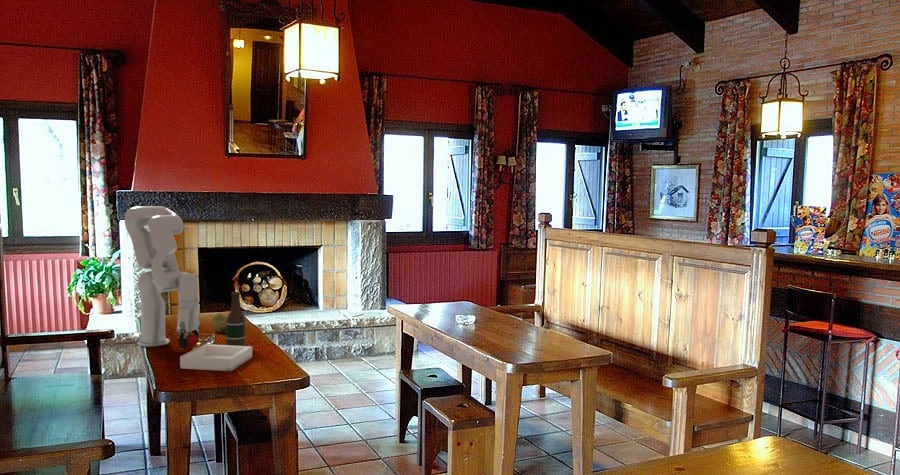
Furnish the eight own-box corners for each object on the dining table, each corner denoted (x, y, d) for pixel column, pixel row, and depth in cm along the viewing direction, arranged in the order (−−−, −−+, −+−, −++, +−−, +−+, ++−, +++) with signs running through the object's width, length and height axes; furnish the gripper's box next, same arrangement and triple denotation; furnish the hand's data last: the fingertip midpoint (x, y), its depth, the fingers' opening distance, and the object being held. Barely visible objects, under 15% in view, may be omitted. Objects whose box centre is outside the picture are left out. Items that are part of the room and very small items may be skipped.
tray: (180, 368, 246) (180, 356, 246) (204, 355, 266) (204, 344, 266) (231, 371, 245) (231, 359, 244) (252, 357, 264) (252, 346, 264)
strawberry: (199, 353, 269) (199, 329, 268) (180, 355, 264) (180, 331, 264) (196, 350, 273) (196, 326, 273) (177, 352, 269) (177, 328, 269)
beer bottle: (239, 350, 275) (239, 294, 273) (222, 349, 276) (222, 293, 275) (248, 346, 283) (248, 291, 281) (232, 344, 284) (232, 290, 282)
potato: (214, 335, 301) (214, 318, 301) (211, 329, 313) (211, 312, 312) (232, 333, 305) (232, 316, 304) (229, 328, 317) (229, 311, 316)
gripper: (189, 300, 276) (190, 340, 277) (168, 307, 259) (169, 349, 260) (206, 300, 276) (207, 340, 277) (186, 307, 258) (187, 350, 259)
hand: (189, 345), depth 268 cm, fingers open, 9 cm apart
